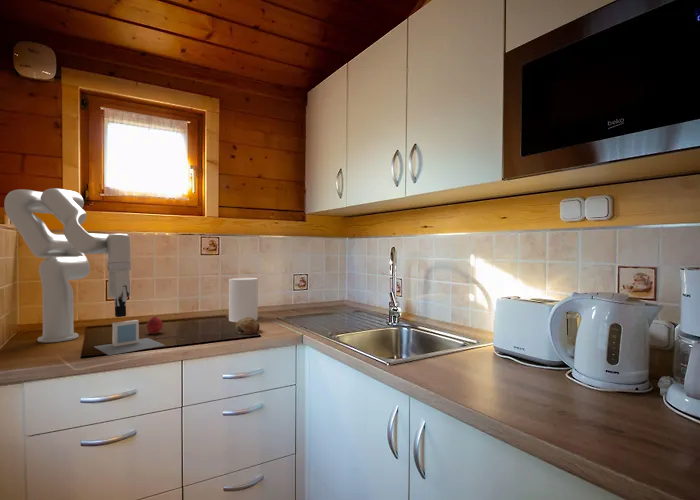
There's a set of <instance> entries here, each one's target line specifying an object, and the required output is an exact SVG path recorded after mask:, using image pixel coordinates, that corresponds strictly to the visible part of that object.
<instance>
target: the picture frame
mask: <svg viewBox="0 0 700 500" xmlns="http://www.w3.org/2000/svg"><path fill="white" fill-rule="evenodd" d="M139 323H140V320H138V319H133V320H126V321H125V320H124V321H118V322H112V323H111V325H112V333H111V335H112V338H111V339H112V343H111V344H112V345H113V346H120V345H126V344H132V343H138V342H139V339H140V335H139V333H140V330H139V329H140V327H139V326H140V324H139Z"/></svg>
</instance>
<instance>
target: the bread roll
mask: <svg viewBox="0 0 700 500" xmlns="http://www.w3.org/2000/svg"><path fill="white" fill-rule="evenodd" d="M260 328H261V327H260V323H259V321H258V320H255V319H253V318H251V317H246V318H243V319H241V320H239V321H238V322H236V324H235V329H234V330H235V333H237V334H238V335H253V334H252V333H255V334H257V333H259V331H260Z"/></svg>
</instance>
